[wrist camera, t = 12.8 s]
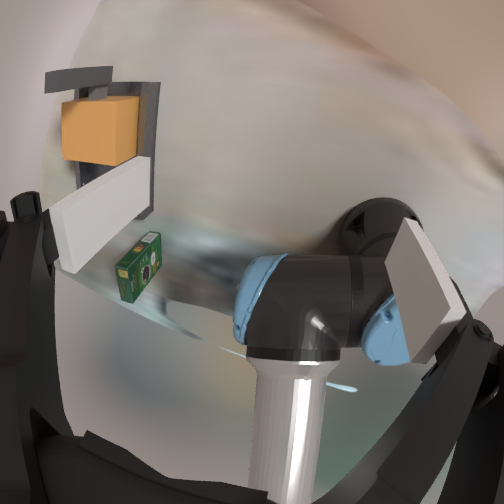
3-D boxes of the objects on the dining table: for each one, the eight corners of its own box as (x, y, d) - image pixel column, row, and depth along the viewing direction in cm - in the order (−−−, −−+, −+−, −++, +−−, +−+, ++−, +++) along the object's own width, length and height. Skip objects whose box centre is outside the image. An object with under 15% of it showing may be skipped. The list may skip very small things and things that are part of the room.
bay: (88, 83, 41) (74, 85, 38) (160, 82, 40) (148, 82, 37) (90, 196, 54) (78, 204, 51) (153, 210, 53) (143, 219, 50)
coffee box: (148, 228, 56) (113, 265, 45) (161, 231, 55) (127, 270, 44) (151, 261, 60) (120, 301, 49) (163, 265, 60) (133, 305, 49)
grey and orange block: (93, 68, 38) (27, 76, 25) (148, 65, 37) (83, 66, 24) (90, 146, 47) (30, 175, 34) (141, 152, 46) (82, 184, 33)
